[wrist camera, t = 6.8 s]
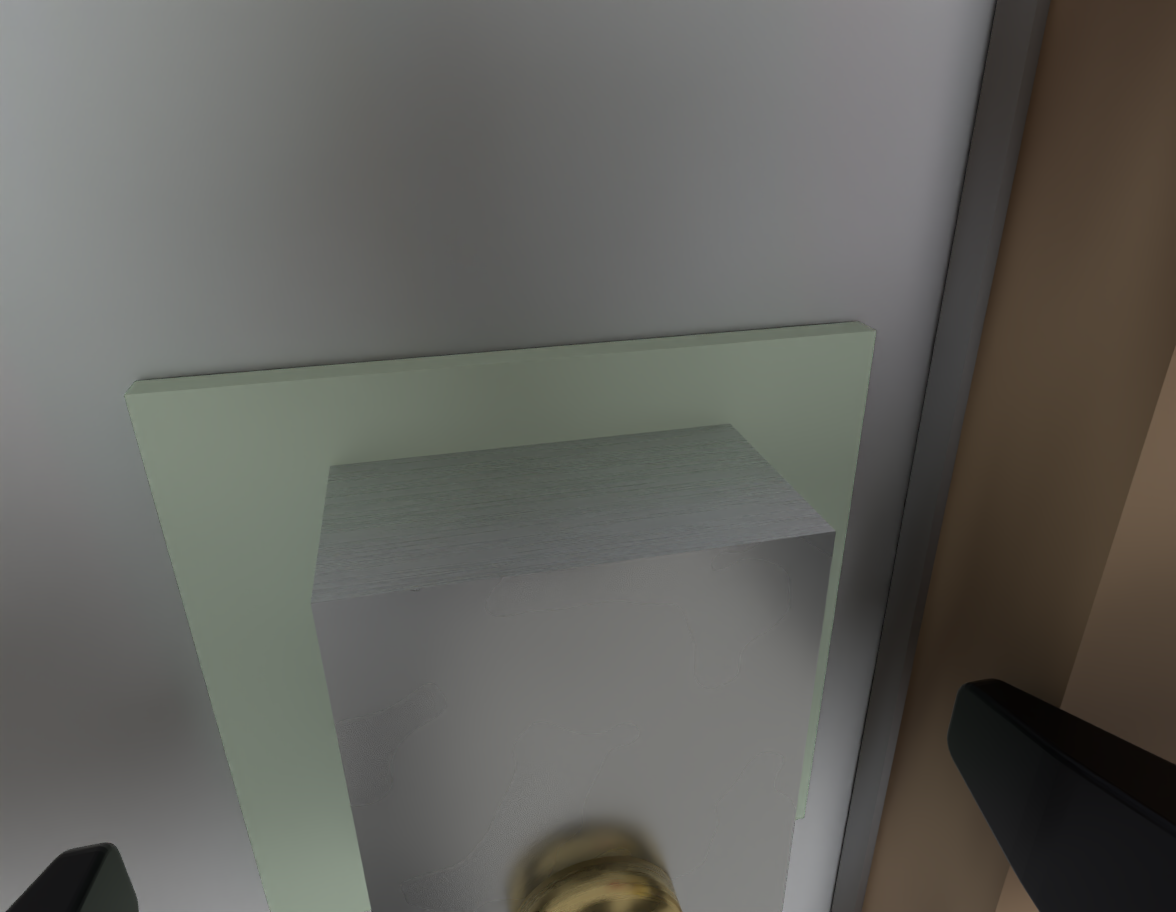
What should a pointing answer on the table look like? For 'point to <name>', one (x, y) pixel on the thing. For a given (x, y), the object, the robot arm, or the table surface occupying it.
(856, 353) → the felt pad
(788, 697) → the white block brass knob
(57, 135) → the table surface
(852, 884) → the plane body
